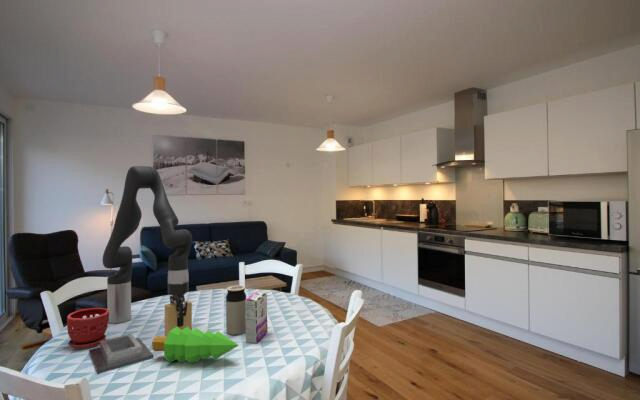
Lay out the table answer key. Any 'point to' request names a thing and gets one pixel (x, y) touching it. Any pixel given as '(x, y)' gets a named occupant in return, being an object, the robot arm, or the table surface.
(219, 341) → the decorative tree
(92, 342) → the plant pot
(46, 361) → the table surface
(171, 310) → the tan rectangular block
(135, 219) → the robot arm
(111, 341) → the duct flange
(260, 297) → the candy bar box
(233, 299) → the travel mug
